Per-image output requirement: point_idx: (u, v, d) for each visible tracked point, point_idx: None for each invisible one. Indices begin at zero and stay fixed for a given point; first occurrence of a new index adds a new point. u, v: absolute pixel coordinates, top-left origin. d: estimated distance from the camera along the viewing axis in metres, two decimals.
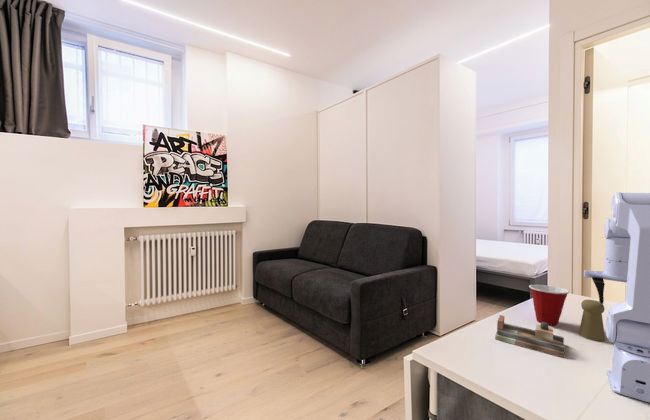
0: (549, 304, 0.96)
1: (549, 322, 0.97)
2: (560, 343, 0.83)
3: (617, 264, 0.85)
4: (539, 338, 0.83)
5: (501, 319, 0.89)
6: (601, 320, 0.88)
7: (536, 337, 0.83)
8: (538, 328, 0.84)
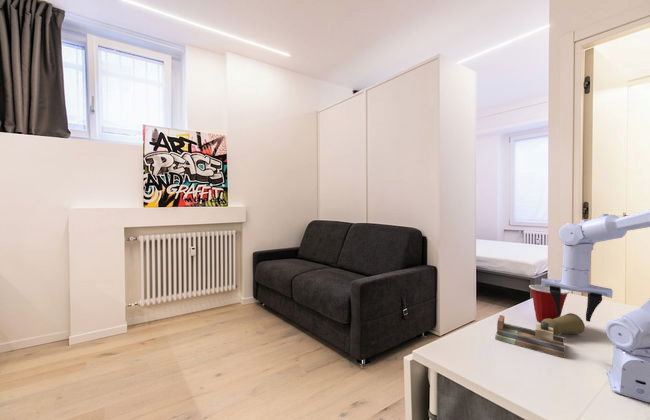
0: (549, 304, 0.96)
1: None
2: (560, 343, 0.83)
3: (574, 272, 0.77)
4: (539, 338, 0.83)
5: (501, 319, 0.89)
6: (563, 322, 0.89)
7: (536, 337, 0.83)
8: (538, 328, 0.84)
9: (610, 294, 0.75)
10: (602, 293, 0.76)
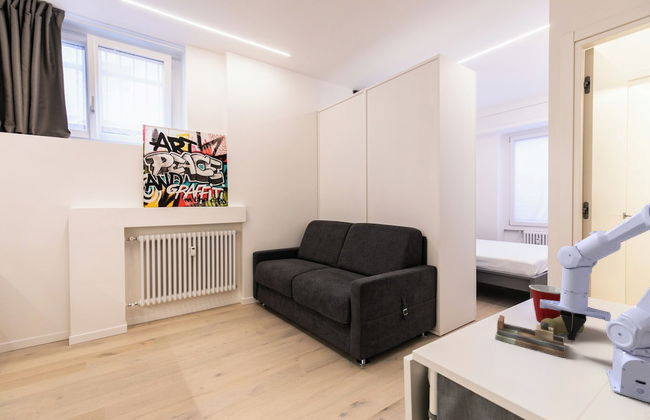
0: None
1: None
2: (560, 343, 0.83)
3: (572, 295, 0.78)
4: (539, 338, 0.83)
5: (501, 319, 0.89)
6: (562, 321, 0.90)
7: (536, 337, 0.83)
8: (538, 328, 0.84)
9: (608, 318, 0.75)
10: (600, 316, 0.76)
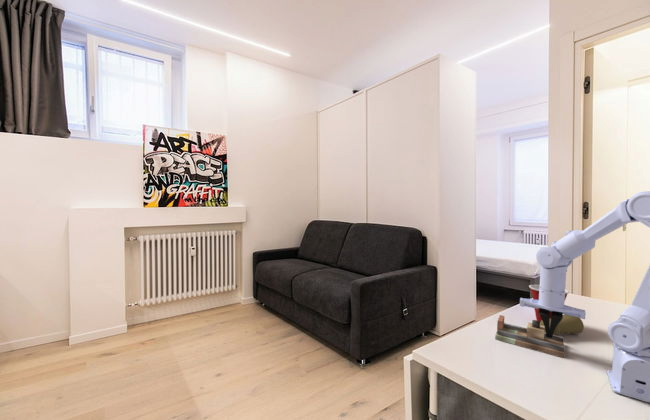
0: None
1: None
2: (560, 343, 0.83)
3: (549, 294, 0.81)
4: (530, 336, 0.84)
5: (501, 319, 0.89)
6: (562, 321, 0.90)
7: (528, 335, 0.85)
8: (529, 326, 0.85)
9: (583, 315, 0.78)
10: (576, 314, 0.79)
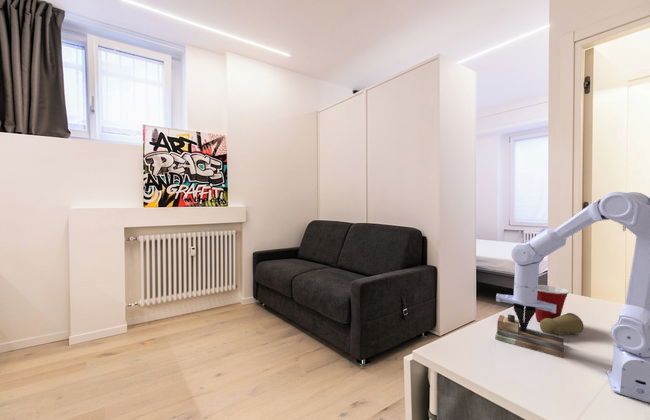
0: None
1: None
2: (560, 343, 0.83)
3: (523, 289, 0.84)
4: (506, 330, 0.88)
5: (501, 319, 0.89)
6: (562, 321, 0.90)
7: (503, 329, 0.88)
8: (505, 320, 0.89)
9: (554, 310, 0.82)
10: (548, 309, 0.83)
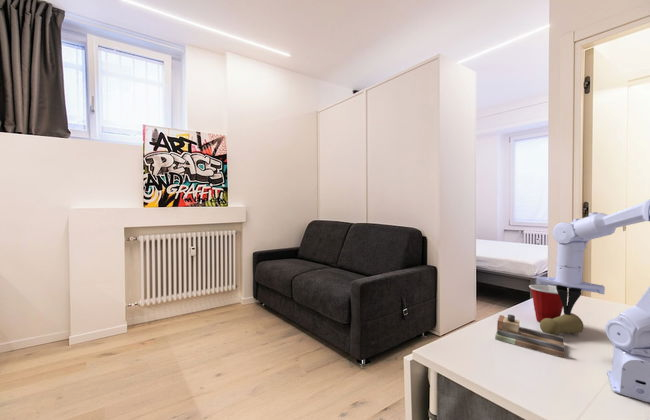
0: (549, 304, 0.96)
1: None
2: (560, 343, 0.83)
3: (568, 270, 0.80)
4: (506, 330, 0.88)
5: (501, 319, 0.89)
6: (562, 321, 0.90)
7: (503, 329, 0.88)
8: (505, 320, 0.89)
9: (602, 291, 0.77)
10: (595, 290, 0.79)
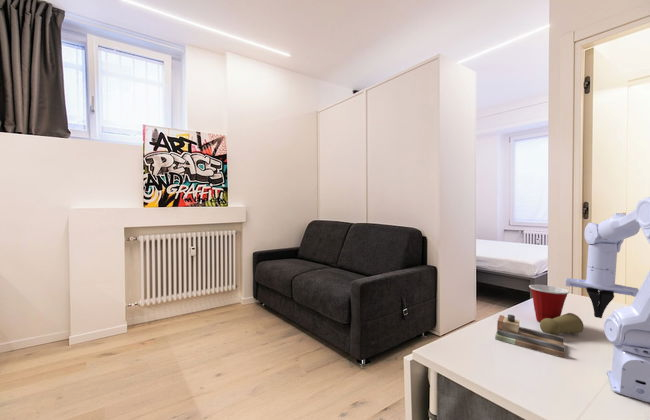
0: (549, 304, 0.96)
1: None
2: (560, 343, 0.83)
3: (600, 272, 0.78)
4: (506, 330, 0.88)
5: (501, 319, 0.89)
6: (562, 321, 0.90)
7: (503, 329, 0.88)
8: (505, 320, 0.89)
9: (637, 293, 0.75)
10: (628, 292, 0.77)
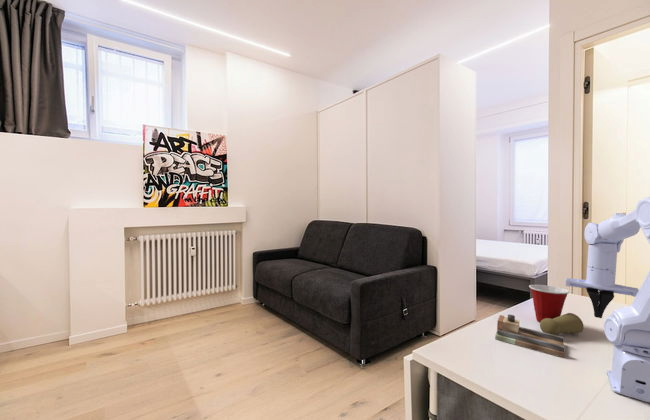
0: (549, 304, 0.96)
1: None
2: (560, 343, 0.83)
3: (600, 272, 0.78)
4: (506, 330, 0.88)
5: (501, 319, 0.89)
6: (562, 321, 0.90)
7: (503, 329, 0.88)
8: (505, 320, 0.89)
9: (637, 293, 0.75)
10: (628, 292, 0.77)
